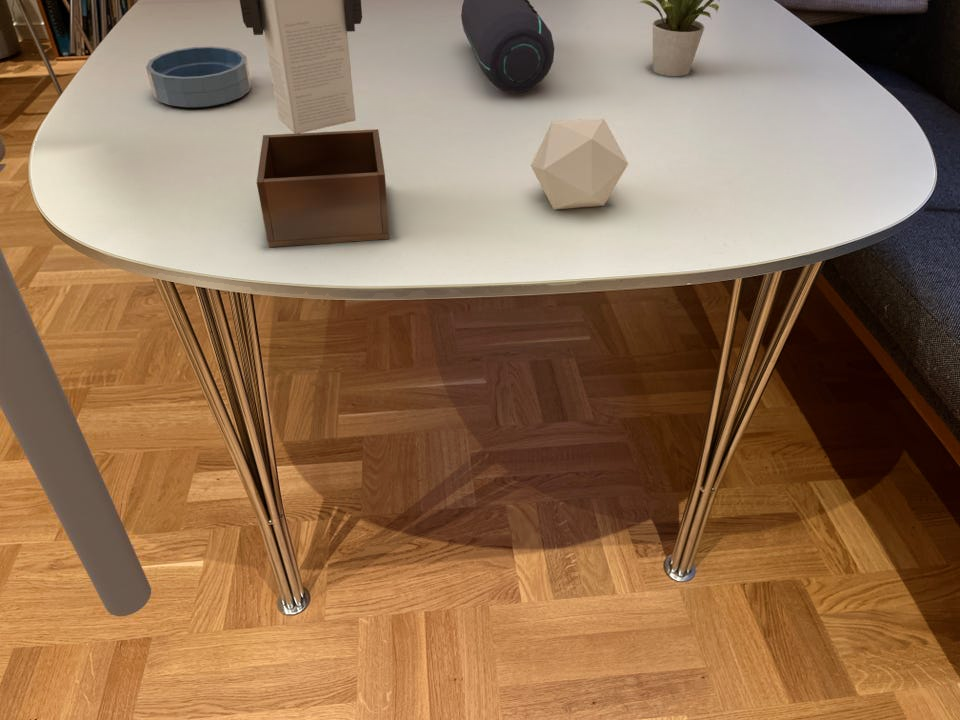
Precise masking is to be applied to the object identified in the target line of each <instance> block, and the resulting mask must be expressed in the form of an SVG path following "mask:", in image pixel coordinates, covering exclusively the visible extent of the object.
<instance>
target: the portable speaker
mask: <svg viewBox="0 0 960 720" xmlns="http://www.w3.org/2000/svg"><path fill="white" fill-rule="evenodd" d="M460 20H461V24H462V29H463V32H464V34H465V36H466V38H467V41H468V43H469V45H470V47H471V50H472V52H473V54H474V56H475V59H476V61H477V63H478V65H479V67H480V70H481V72H482V73H483V74H484V76H485V77H486V78H487V80H488V81H489V82H490V83H491V84H492V85H493V86H495V88H497V89H498V90H501V91H503V92H508V93H523V92H527V91H529V90H531V89H533V88H534V87H536V86H537V85H539V84H540V83H541V82H542V81H543V80H544V79H545V78H546V77H547V76H548V74H549V72H550V70H551V68H552V66H553V63H554V59H555V44H554V39H553V34H552V32H551V30H550V29H549V28H548V26H547V24H546V23H545V22H544V20H543V18H541V16H540V15H539V14H538V11H537V10H536V9H535V8H534V6H533V5H532V4H531V2H530V0H463V2H462V5H461V14H460Z"/></svg>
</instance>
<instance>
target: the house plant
mask: <svg viewBox="0 0 960 720" xmlns="http://www.w3.org/2000/svg"><path fill="white" fill-rule="evenodd" d="M655 1H656V2H657V3H658V4H659V5H660V7H661V9H662V10H663V12H664V13H665V16H666V17H663V13H662V11H661V9H660V8H659V7H658V6H657V5H656V4H655V3H654V2H652V1H651V0H640V1H638V2H637V4H639V3H641V4H645V5H647V6H649V7H651V8H653V9H654V10H655V11H656V12H657V13H658V14H659V16H660V18H658V19H655V20H654V21H653V22H652V71H653V72H654V73H656V74H657V75H661V76H667V77H683V76H687V75H688V74H689V73H690V71H691V69H692V65H693V62H694V60H695V57H696V53H697V51H698V47H699V44H700V42H701V39H702V37H703V33H704V30H705V25H704V23H702V22H700V21H698V20H697V19H698V18H699V16H706V17H708V18H710V20H713V19H712V16H711V13H710V12H708V11H706V9H707V8H708V7H710V8H713V9H714V11H715V12H716V13H718V10H719V8H720V6H719V5H718V3H717V4H716V3H713V2H714V1H715V0H707V1H706V3H704V5H702V6H701V4H702V3H703V1H704V0H655ZM718 2H719V3H720V1H718Z"/></svg>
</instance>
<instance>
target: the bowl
mask: <svg viewBox="0 0 960 720" xmlns="http://www.w3.org/2000/svg"><path fill="white" fill-rule="evenodd" d="M248 64H249V63H248V58H247V56H246V55H245V54H244V53H243V52H241V51H239V50H237V49H233V48H230V47H221V46H212V45H211V46H192V47H185V48H178V49H174V50H170V51H167V52H164V53H160V54H158V55H156V56H155V57H152V58H151V59H149V60H148V63H147V64H146V66H145V69H146V72H147V76H148V80H149V84H150V88H151V92H152V95H153V97H154V98H155V99H156V100H157V101H158V102H160V103H162V104H165V105H168V106H172V107H179V108H190V109H191V108H193V109H194V108H195V109H196V108H197V109H198V108H208V107H209V108H210V107H216V106H221V105H223V104H228V103H231V102H233V101H235V100H237V99H241V98H242V97H244V96H245V95H246V94H248V93H249V92H251V86H252V82H251V81H252V80H251V76H250V75H251V74H250V69H249V65H248Z"/></svg>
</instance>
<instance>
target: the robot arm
mask: <svg viewBox="0 0 960 720" xmlns="http://www.w3.org/2000/svg"><path fill="white" fill-rule="evenodd" d="M239 6H240V9H241V11H240V12H241V16H242V17H241V18H242V22H243V24H244V26H245V27H246V29H252V33H253V36H263V35H264V28H263V22H262V16H261V9H260V3H259V0H239ZM344 6H345V17H346V28H347V33H348V32H349V33H350V32H351V33H352V32H356V27H355V26H356V25H361V23H362V20H363V11H362V8H363V7H362V0H344Z"/></svg>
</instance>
